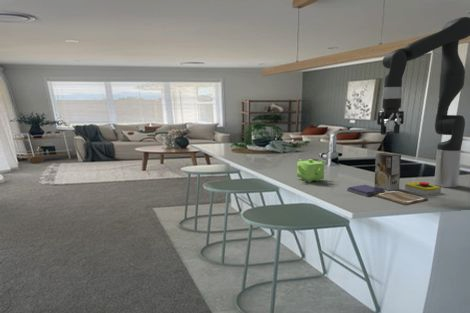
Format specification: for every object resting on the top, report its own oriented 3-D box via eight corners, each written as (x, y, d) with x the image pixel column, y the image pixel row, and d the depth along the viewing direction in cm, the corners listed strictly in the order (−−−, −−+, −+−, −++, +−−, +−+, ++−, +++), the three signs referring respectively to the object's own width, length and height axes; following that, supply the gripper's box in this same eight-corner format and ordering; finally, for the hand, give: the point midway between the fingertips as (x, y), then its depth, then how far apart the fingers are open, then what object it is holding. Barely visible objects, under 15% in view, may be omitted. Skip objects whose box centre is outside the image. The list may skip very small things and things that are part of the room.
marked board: (396, 191, 138) (397, 190, 138) (427, 200, 126) (428, 198, 126) (374, 196, 133) (374, 194, 132) (404, 205, 120) (404, 203, 120)
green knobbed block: (298, 176, 173) (298, 156, 171) (324, 178, 168) (325, 157, 167) (294, 182, 159) (294, 160, 157) (323, 184, 154) (323, 162, 153)
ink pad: (364, 187, 146) (364, 184, 146) (384, 193, 137) (385, 189, 136) (347, 190, 142) (347, 187, 142) (366, 196, 132) (366, 192, 132)
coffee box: (399, 189, 143) (402, 154, 141) (390, 191, 140) (392, 155, 138) (382, 185, 151) (384, 152, 149) (373, 186, 148) (375, 153, 146)
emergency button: (430, 187, 131) (400, 180, 144) (429, 197, 131) (399, 189, 145) (445, 185, 134) (414, 178, 148) (444, 195, 134) (414, 187, 148)
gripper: (395, 98, 146) (393, 132, 148) (373, 98, 140) (371, 134, 142) (410, 97, 139) (407, 133, 141) (388, 97, 133) (386, 135, 135)
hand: (389, 134), depth 142 cm, fingers open, 8 cm apart
